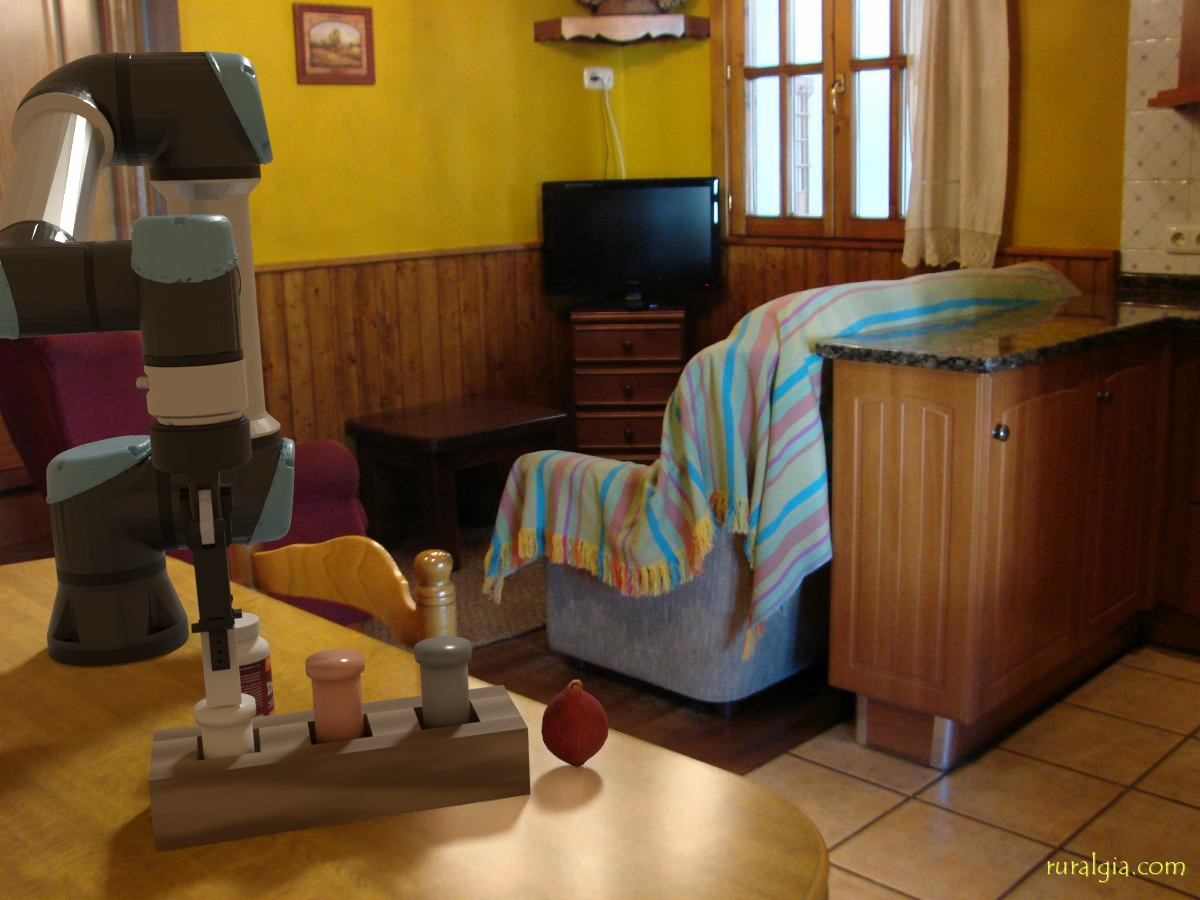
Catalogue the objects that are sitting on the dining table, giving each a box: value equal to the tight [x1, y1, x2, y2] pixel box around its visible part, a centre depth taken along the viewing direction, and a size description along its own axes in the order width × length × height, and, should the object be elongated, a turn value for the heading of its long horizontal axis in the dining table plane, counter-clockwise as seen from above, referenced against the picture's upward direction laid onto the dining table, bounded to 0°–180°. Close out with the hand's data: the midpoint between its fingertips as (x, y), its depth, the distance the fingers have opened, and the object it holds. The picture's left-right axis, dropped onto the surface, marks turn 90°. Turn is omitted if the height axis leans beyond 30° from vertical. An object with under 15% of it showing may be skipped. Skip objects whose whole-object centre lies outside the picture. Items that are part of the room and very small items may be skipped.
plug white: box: [193, 693, 256, 760], centre depth 108 cm, size 5×5×8 cm
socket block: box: [147, 684, 532, 853], centre depth 111 cm, size 10×30×6 cm, turn 106°
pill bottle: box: [202, 612, 276, 717], centre depth 124 cm, size 6×6×11 cm
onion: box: [540, 679, 610, 768], centre depth 115 cm, size 6×6×8 cm
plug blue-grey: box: [413, 635, 473, 730], centre depth 112 cm, size 5×5×8 cm
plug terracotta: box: [304, 648, 366, 744], centre depth 110 cm, size 5×5×8 cm
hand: (224, 702), depth 107 cm, fingers closed
